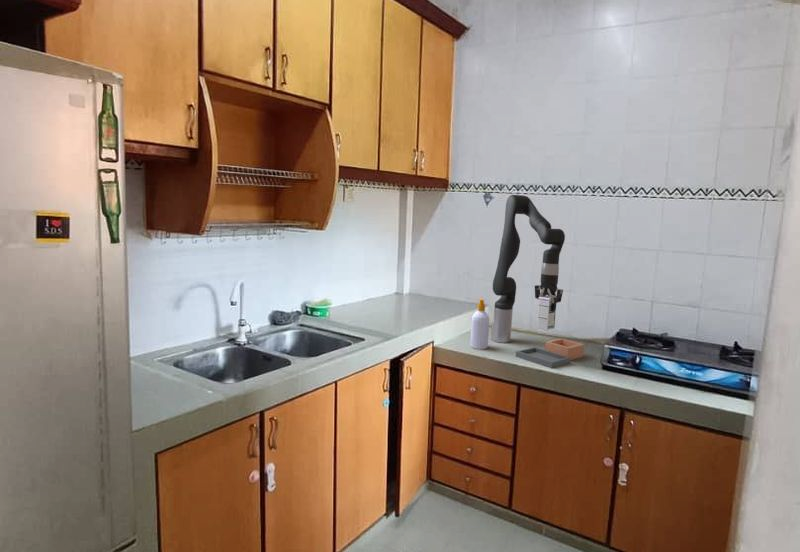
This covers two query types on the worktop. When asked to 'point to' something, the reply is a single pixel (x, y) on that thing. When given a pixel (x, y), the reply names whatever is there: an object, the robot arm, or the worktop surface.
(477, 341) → the soap bottle
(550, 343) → the terracotta open box
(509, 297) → the robot arm
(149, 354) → the worktop surface
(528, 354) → the charcoal tray
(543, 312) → the syrup box
